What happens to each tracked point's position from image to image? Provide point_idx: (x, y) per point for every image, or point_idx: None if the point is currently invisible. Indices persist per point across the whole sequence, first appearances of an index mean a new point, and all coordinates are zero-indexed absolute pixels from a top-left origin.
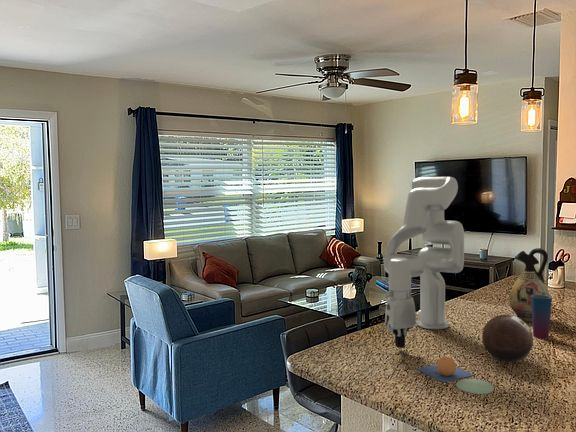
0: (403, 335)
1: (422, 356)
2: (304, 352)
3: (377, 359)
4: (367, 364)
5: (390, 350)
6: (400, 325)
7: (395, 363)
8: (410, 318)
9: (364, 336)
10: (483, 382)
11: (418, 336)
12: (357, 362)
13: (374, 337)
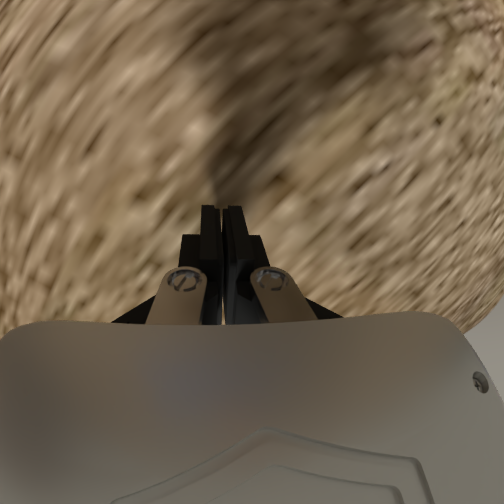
0: (196, 282)
1: (155, 50)
2: None
3: (425, 182)
4: (479, 166)
5: (267, 253)
6: (381, 358)
7: (408, 75)
8: (78, 495)
9: None
10: None
11: None
12: (479, 207)
13: None
